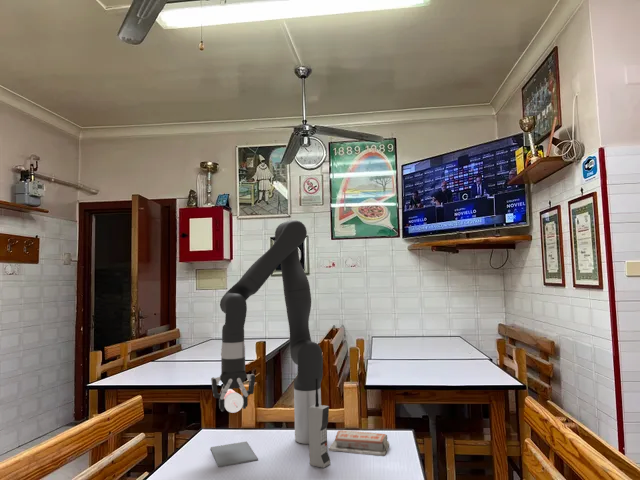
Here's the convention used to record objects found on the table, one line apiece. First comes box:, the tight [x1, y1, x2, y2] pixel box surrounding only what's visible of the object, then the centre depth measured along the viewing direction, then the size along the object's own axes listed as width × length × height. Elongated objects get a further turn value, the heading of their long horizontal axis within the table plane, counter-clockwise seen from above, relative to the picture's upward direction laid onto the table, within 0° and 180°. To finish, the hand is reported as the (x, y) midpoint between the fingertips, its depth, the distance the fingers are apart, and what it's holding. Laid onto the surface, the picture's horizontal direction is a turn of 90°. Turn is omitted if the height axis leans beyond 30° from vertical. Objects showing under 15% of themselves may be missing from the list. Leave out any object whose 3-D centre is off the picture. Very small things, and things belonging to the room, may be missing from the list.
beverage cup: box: [224, 389, 244, 414], centre depth 144 cm, size 6×6×14 cm
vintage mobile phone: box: [308, 378, 331, 469], centre depth 134 cm, size 4×5×25 cm
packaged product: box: [328, 429, 390, 457], centre depth 146 cm, size 18×5×10 cm
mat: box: [210, 441, 259, 468], centre depth 143 cm, size 12×16×1 cm
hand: (233, 409), depth 143 cm, fingers closed on beverage cup, 6 cm apart
